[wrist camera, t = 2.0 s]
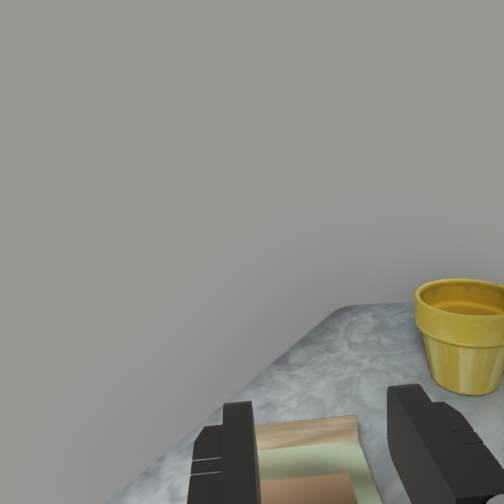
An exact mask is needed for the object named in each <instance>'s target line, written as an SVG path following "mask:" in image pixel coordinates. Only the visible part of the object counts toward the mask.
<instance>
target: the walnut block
mask: <svg viewBox="0 0 504 504" xmlns="http://www.w3.org/2000/svg"><path fill="white" fill-rule="evenodd" d="M260 488H261V502H262V504H358V503H357V500H356V496H355V493H354V490H353V487H352V484H351V481H350V477H349V474H348V472H347V473H338V474H329V475H319V476H310V477H301V478H291V479H282V480H273V481H264V482H260Z"/></svg>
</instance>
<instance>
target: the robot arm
mask: <svg viewBox="0 0 504 504" xmlns="http://www.w3.org/2000/svg"><path fill="white" fill-rule="evenodd" d="M387 439H388V446H389V451H390V455H391V458H392V461H393V463H394V466H395V468H396V470H397V472H398V475H399V477H400V479H401V481H402V483H403V486H404V488H405V490H406V492H407V494H408V496H409V499H410V501H411V503H412V504H504V469H503V468H502V466H501V465H500V464H499V463H498V461H497V460H496V459H495V457H494V456H493V455H492V453H491V452H490V451H489V449H488V448H487V447H486V446H484V444H483V441H482V440H481V439H480V437H479V436H478V435H477V433H476V432H474V431H473V428H472V427H471V426H470V424H469V423H468V422H467V420H466V419H465V418H464V416H463V415H462V414H461V413H460V412H458V411H457V410H455V409H454V408H452V407H451V406H449V405H448V404H446V403H445V402H434V403H432V402H431V400H430V399H429V397H428V396H427V394H426V393H425V391H424V390H423V388H422V387H421V386H420V385H419V384H418V383H417V384H408V385H398V386H389V387H388V389H387ZM192 460H193V462H192V466H191V477H190V483H189V491H188V499H187V504H262V502H261V488H260V474H259V463H258V452H257V443H256V435H255V426H254V417H253V408H252V401H244V402H235V403H226V404H224V405H223V425H215V426H206V427H204V428H203V430H202V431H201V433H200V434H199V436H198V437H197V439H196V440H195V442H194V450H193V458H192Z"/></svg>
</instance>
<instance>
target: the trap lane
mask: <svg viewBox="0 0 504 504" xmlns="http://www.w3.org/2000/svg"><path fill="white" fill-rule="evenodd" d="M255 435H256V443H257V452H258V463H259V474H260V482H264V481H273V480H282V479H291V478H301V477H310V476H319V475H329V474H338V473H347V472H348V474H349V477H350V481H351V484H352V487H353V490H354V493H355V496H356V500H357V503H358V504H382V501H381V498H380V496H379V493H378V490H377V488H376V485H375V482H374V480H373V477H372V475H371V472H370V469H369V467H368V464H367V461H366V459H365V456H364V454H363V451H362V448H361V446H360V443H359V440H358V420H357V418H356V415H350V416H340V417H331V418H322V419H312V420H303V421H294V422H284V423H275V424H266V425H256V426H255Z"/></svg>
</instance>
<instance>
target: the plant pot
mask: <svg viewBox="0 0 504 504" xmlns="http://www.w3.org/2000/svg"><path fill="white" fill-rule="evenodd" d="M414 315H415V323H416V325H417V327H418V328H419V329H420V330H421V331H422V335H423V339H424V344H425V348H426V353H427V357H428V362H429V367H430V371H431V375H432V377H433V379H434V380H435V382H436V383H437V384H439V385H440V386H441V387H443V388H445V389H447V390H449V391H452V392H455V393H458V394H463V395H471V396H475V395H484V394H488V393H491V392H493V391H494V390H495V389H496V388H497V387H498V385H499V382H500V379H501V376H502V374H503V371H504V285H501V284H498V283H493V282H489V281H483V280H475V279H444V280H437V281H432V282H429V283H426V284H424V285H422V286H420V287H419V288H418V289H417V290H416V292H415V296H414Z"/></svg>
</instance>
